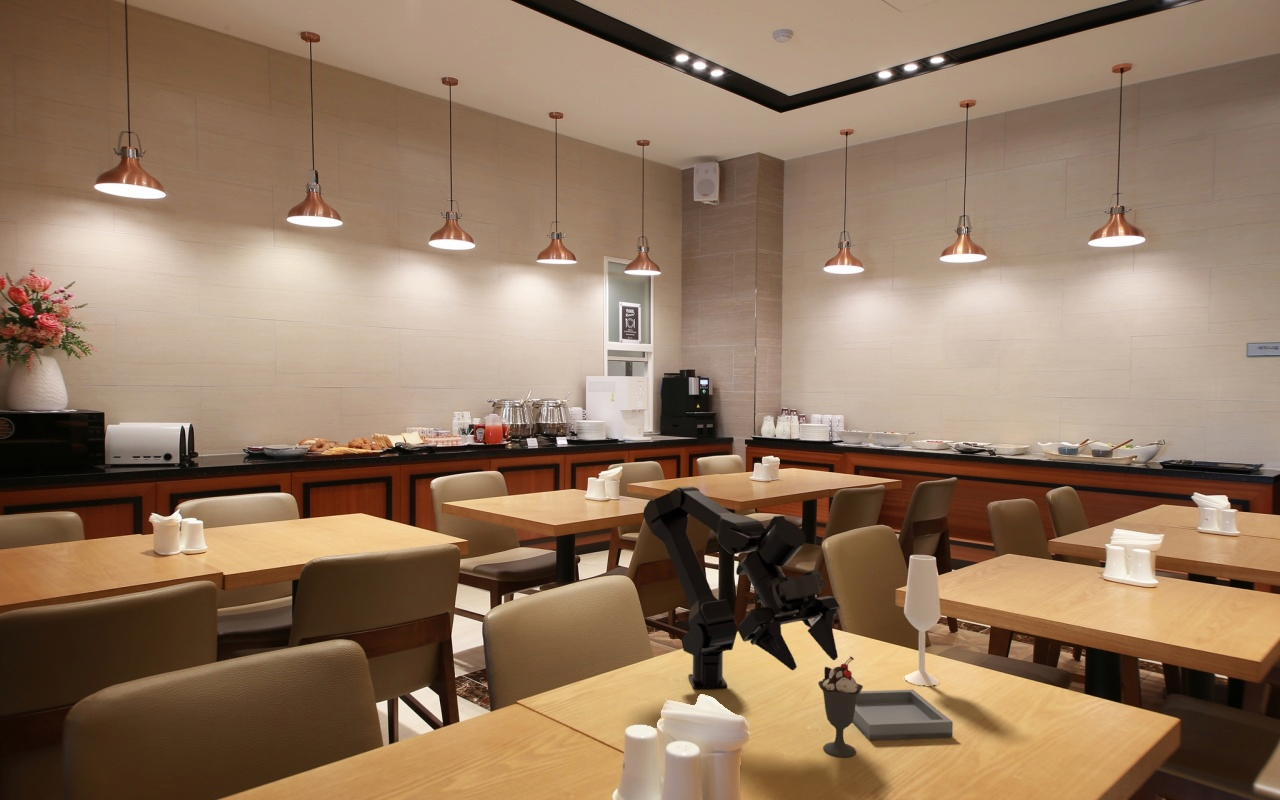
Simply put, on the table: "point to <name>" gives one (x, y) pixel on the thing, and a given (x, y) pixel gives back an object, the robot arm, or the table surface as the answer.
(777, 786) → the table surface
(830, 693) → the sundae
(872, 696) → the tray
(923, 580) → the champagne flute
